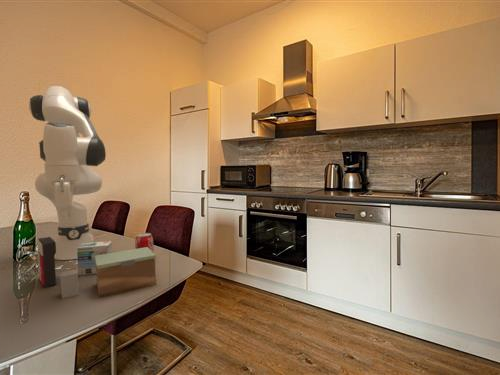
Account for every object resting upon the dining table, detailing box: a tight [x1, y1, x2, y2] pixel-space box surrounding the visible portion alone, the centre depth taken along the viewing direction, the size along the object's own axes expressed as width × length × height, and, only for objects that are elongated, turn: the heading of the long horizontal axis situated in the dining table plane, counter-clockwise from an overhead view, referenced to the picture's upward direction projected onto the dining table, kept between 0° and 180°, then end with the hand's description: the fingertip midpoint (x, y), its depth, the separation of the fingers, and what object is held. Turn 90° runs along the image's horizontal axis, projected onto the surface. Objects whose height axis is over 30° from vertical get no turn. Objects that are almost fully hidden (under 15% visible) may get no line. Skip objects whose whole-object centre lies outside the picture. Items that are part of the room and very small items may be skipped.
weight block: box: [59, 268, 80, 299], centre depth 86 cm, size 4×4×7 cm
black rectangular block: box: [36, 236, 57, 288], centre depth 95 cm, size 11×4×15 cm, turn 45°
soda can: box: [134, 232, 155, 254], centre depth 114 cm, size 7×7×12 cm
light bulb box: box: [77, 240, 113, 276], centre depth 105 cm, size 11×7×11 cm, turn 105°
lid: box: [95, 247, 157, 269], centre depth 92 cm, size 13×17×2 cm
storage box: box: [95, 258, 157, 298], centre depth 93 cm, size 12×17×9 cm
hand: (65, 219), depth 84 cm, fingers open, 8 cm apart
